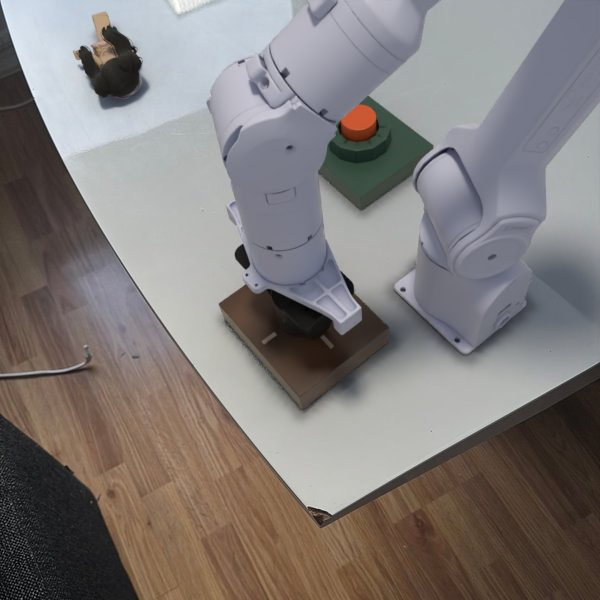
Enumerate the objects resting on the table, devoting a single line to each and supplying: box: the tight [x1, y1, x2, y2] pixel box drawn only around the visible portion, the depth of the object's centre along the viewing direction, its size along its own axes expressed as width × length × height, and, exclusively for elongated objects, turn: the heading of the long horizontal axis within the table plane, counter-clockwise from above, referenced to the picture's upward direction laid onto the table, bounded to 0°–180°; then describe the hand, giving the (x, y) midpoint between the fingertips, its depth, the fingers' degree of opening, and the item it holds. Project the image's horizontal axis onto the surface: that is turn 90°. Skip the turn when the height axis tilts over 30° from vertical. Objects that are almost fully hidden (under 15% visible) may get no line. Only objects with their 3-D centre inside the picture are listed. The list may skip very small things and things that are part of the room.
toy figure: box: [72, 11, 143, 100], centre depth 80 cm, size 7×6×15 cm
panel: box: [218, 283, 390, 410], centre depth 60 cm, size 12×10×3 cm
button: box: [341, 105, 376, 142], centre depth 68 cm, size 4×4×2 cm
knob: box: [271, 289, 307, 336], centre depth 57 cm, size 4×4×4 cm
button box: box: [318, 95, 435, 211], centre depth 70 cm, size 12×10×4 cm
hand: (300, 312), depth 58 cm, fingers closed on knob, 4 cm apart
